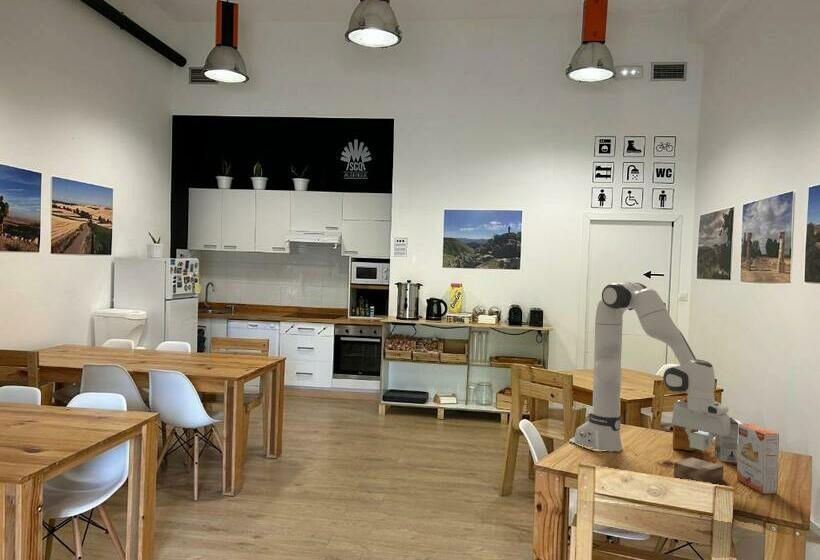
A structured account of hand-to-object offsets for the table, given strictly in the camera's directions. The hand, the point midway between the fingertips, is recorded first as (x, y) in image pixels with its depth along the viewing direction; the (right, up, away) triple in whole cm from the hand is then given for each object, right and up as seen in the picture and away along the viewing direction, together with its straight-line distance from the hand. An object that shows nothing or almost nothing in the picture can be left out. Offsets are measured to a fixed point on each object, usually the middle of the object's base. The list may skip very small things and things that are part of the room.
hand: (699, 442), depth 219 cm
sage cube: (0, -2, 0) cm, 2 cm away
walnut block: (0, -13, 0) cm, 13 cm away
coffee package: (+12, -13, +38) cm, 42 cm away
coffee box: (+22, -14, +25) cm, 36 cm away
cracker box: (+16, -14, -8) cm, 22 cm away
